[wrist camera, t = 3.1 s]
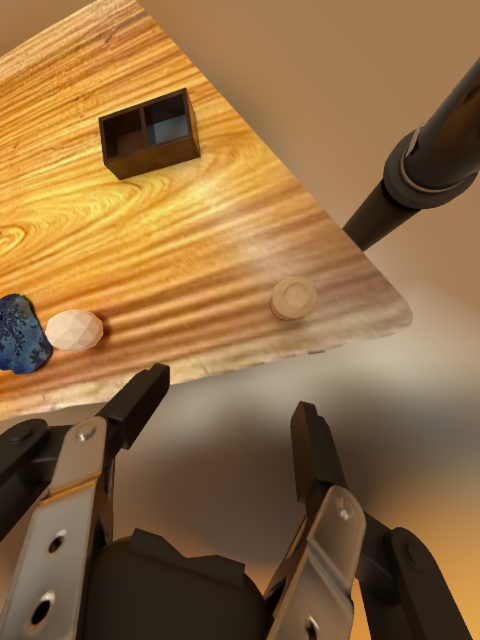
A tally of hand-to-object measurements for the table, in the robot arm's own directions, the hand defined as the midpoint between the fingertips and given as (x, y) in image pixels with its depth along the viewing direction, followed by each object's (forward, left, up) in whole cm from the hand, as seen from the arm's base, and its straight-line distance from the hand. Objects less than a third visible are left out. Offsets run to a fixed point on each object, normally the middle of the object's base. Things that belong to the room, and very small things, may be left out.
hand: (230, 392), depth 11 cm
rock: (+50, -9, -21) cm, 55 cm away
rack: (+13, -42, -21) cm, 48 cm away
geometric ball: (+31, -8, -21) cm, 38 cm away
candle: (-7, -7, -21) cm, 23 cm away
